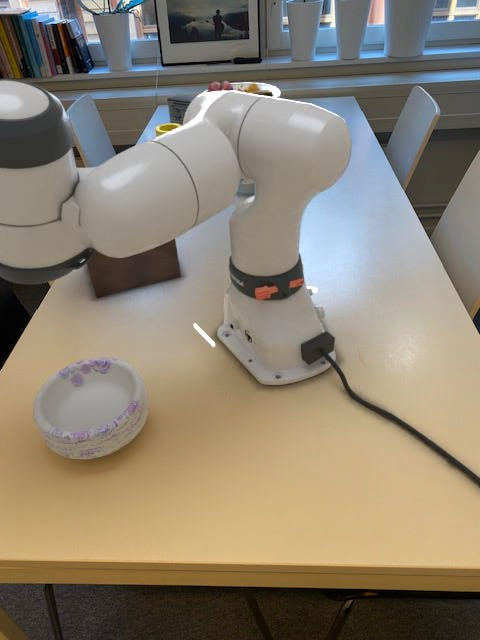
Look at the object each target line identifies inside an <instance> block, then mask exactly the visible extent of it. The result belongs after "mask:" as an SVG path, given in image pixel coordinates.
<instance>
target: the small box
mask: <svg viewBox="0 0 480 640" xmlns="http://www.w3.org/2000/svg"><path fill="white" fill-rule="evenodd" d="M195 97H197V96H196V95H188V94H182V93H181V94H180V93H177V94H175V95H172V96H169V97H167V106H168V113H169V123H176V124H180V125H181V126H183V119H184V116H185V113H186V110H187V108H188V106H189V105H190V103H191V102H192V101H193V99H194V98H195Z"/></svg>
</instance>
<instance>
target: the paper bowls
mask: <svg viewBox="0 0 480 640" xmlns="http://www.w3.org/2000/svg"><path fill="white" fill-rule="evenodd" d="M149 407H150V405H149V399H148V395H147V390H146V387H145V383H144V379H143V377H142V374H141V373H140V372H139V371H138V370H137V369H136V368H135V367H134V366H133V365H132V364H130V363H128V362H126V361H124V360H122V359H118V358H115V357H114V358H113V357H94V358H89V359H84V360H80V361H76V362H74V363H71V364H69V365H68V366H65V367H64V368H62V369H60V370H58V371H57V372H56V373H54V374H53V375H52V376H50V377H49V378H48V379H47V380H46V381H45V382H44V383H43V385H42V386H41V387H40V388H39V390H38V391H37V393H36V395H35V398H34V401H33V405H32V415H33V419H34V422H35V424H36V426H37V429H38V431H39V433H40V435H41V438H42V439H43V441H44V442H45V444H46V445H47V447H49V449H51V451H52V452H54V453H56V454H57V455H60V456H62V457H63V458H68V459H72V460H91V459H97V458H101V457H104V456H108V455H110V454H113V453H115V452H116V451H118V450H120V449H122V448H123V447H125V446H127V445H128V444H129V443H130V442H131V441H132V440H133V439H135V438H136V437H137V436H138V435H139V434H140V433H141V431H142V429H143V428H144V426H145V424H146V422H147V420H148V416H149V411H150V409H149Z"/></svg>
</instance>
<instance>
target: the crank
mask: <svg viewBox="0 0 480 640" xmlns="http://www.w3.org/2000/svg"><path fill="white" fill-rule="evenodd" d="M180 126H181V125H180V124H176V123H171V122H169V123H161V124H159V125H156V127H155V129H154V130H155V135H156V136H155V137H157V136H159V135H162V134H164V133H166V132H169V131H171V130H173V129H176V128H178V127H180Z"/></svg>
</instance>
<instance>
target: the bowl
mask: <svg viewBox="0 0 480 640" xmlns="http://www.w3.org/2000/svg"><path fill="white" fill-rule="evenodd" d="M216 91H238V92H244V93H249V94H255V95H261V96H267V97H274V98H280V99H281V90H280V89H279V88H277V86H274V85H271V84H267V83H262V82H261V83H260V82H233V83H230V82H229V80H224V81H222V82H221V83H220V82H218V81H212V82H211V83H209V84H208V86H207V89H205V91H203V92H202V93H208V92H216Z"/></svg>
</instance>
